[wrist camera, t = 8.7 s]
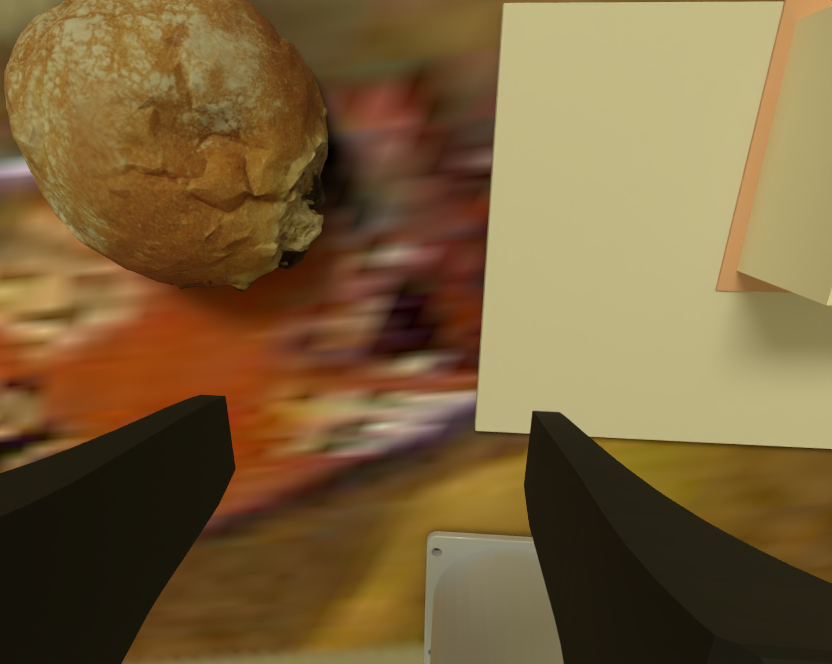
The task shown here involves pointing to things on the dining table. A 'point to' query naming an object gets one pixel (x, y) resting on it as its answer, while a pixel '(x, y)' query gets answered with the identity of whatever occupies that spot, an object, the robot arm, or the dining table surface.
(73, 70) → the bread roll
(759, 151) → the mat
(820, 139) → the card box
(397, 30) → the dining table surface
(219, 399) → the robot arm
